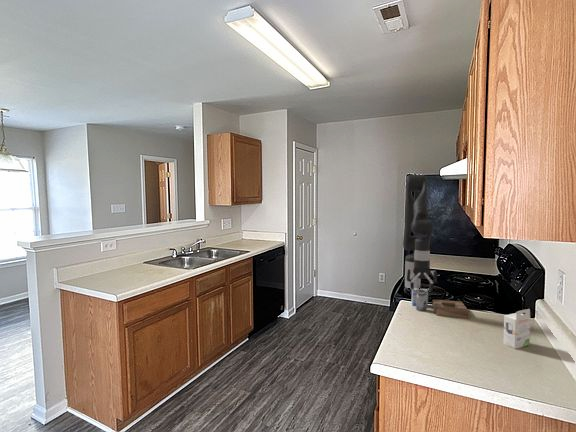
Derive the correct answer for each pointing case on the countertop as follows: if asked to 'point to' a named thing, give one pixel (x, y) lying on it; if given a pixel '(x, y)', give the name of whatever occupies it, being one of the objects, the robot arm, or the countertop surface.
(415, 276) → the robot arm
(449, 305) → the jig
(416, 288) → the medicine box
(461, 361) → the countertop surface
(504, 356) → the countertop surface
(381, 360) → the countertop surface
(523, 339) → the ink box
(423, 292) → the cylinder
